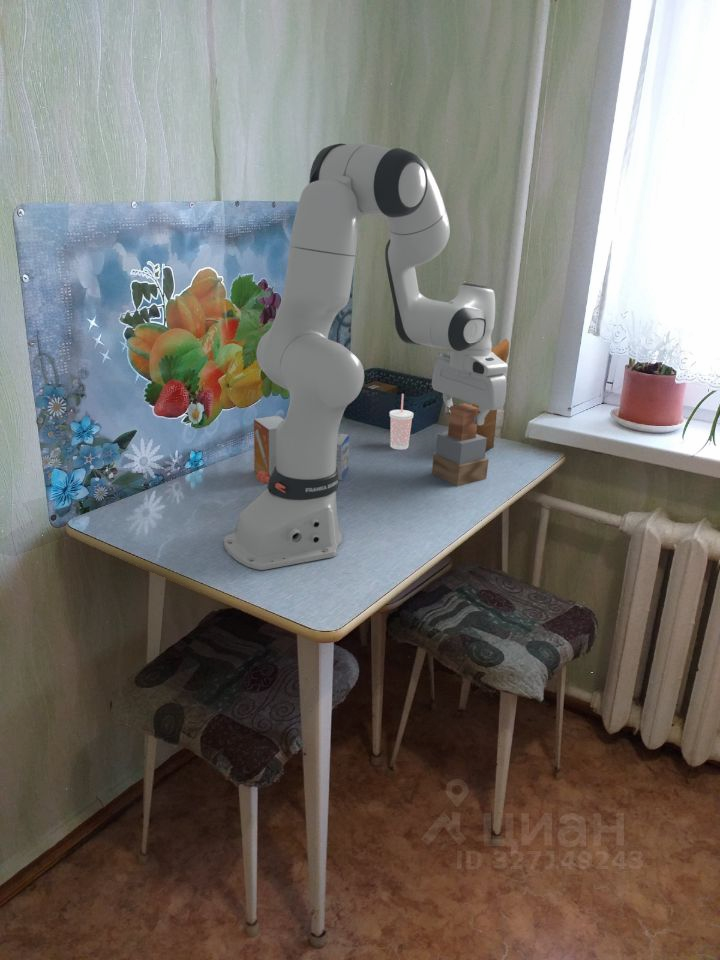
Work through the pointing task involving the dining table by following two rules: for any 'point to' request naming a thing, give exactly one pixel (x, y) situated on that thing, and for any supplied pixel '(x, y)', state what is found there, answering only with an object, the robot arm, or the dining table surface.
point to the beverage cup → (400, 427)
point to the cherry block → (462, 422)
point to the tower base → (459, 470)
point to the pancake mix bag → (490, 419)
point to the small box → (265, 443)
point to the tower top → (461, 448)
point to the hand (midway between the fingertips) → (464, 418)
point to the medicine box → (342, 454)
